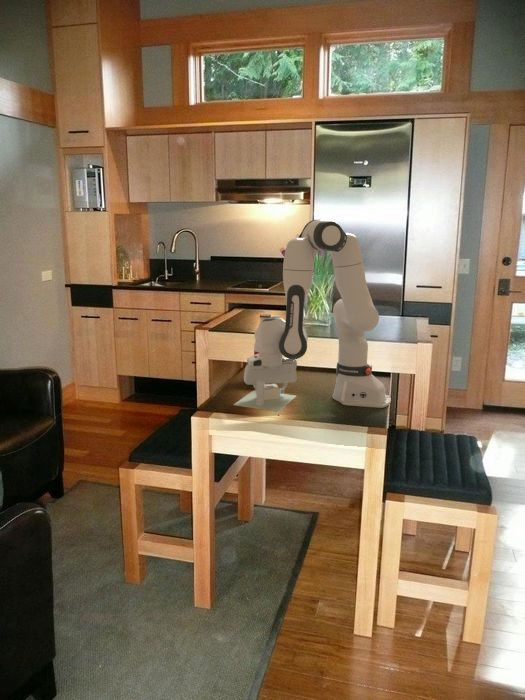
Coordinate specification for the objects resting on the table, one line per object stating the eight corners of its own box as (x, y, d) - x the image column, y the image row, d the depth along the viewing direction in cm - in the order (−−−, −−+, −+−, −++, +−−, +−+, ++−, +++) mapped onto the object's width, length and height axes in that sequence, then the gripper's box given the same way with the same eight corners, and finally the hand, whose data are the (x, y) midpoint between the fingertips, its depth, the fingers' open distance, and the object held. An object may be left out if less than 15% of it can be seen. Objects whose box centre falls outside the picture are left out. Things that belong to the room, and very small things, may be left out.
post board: (296, 399, 215) (297, 373, 212) (278, 415, 197) (279, 387, 194) (253, 393, 221) (254, 368, 219) (233, 408, 203) (233, 381, 201)
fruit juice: (269, 380, 239) (270, 317, 232) (250, 378, 243) (250, 315, 236) (278, 375, 247) (279, 313, 241) (259, 372, 251) (260, 311, 244)
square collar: (275, 393, 217) (275, 384, 216) (279, 398, 210) (280, 388, 210) (259, 394, 215) (259, 384, 214) (263, 399, 209) (263, 389, 208)
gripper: (294, 356, 215) (293, 390, 218) (243, 358, 210) (242, 393, 213) (299, 360, 209) (298, 394, 212) (246, 362, 204) (246, 398, 207)
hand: (270, 394), depth 213 cm, fingers open, 8 cm apart
